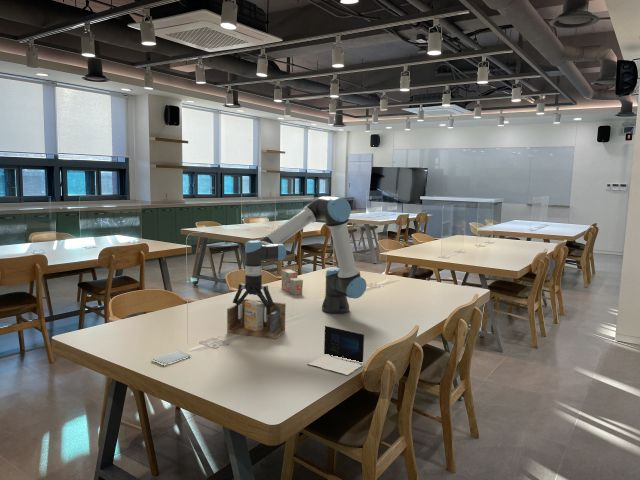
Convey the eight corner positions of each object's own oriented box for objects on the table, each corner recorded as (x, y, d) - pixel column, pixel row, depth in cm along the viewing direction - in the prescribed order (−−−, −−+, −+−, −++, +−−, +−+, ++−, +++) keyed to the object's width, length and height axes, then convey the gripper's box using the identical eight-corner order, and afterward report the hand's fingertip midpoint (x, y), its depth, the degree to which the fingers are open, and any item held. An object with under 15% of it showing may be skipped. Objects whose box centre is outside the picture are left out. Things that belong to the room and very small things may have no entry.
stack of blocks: (302, 294, 296) (303, 275, 294) (293, 295, 293) (293, 275, 292) (290, 287, 315) (290, 268, 314) (281, 287, 312) (281, 269, 311)
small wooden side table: (285, 331, 224) (285, 303, 222) (275, 339, 212) (275, 309, 211) (238, 325, 231) (239, 298, 229) (227, 332, 219) (227, 304, 217)
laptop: (307, 365, 184) (307, 333, 182) (324, 356, 195) (325, 325, 193) (347, 377, 175) (348, 343, 173) (363, 366, 185) (364, 334, 183)
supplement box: (243, 328, 221) (243, 301, 220) (251, 326, 225) (251, 299, 223) (256, 332, 216) (256, 304, 215) (263, 329, 220) (264, 302, 218)
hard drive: (164, 364, 179) (191, 354, 189) (151, 358, 184) (178, 349, 194) (164, 368, 179) (191, 358, 189) (151, 362, 184) (178, 353, 194)
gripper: (225, 273, 217) (225, 319, 220) (275, 278, 210) (274, 325, 213) (232, 270, 224) (232, 314, 227) (281, 275, 218) (280, 320, 220)
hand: (253, 319), depth 220 cm, fingers open, 12 cm apart
